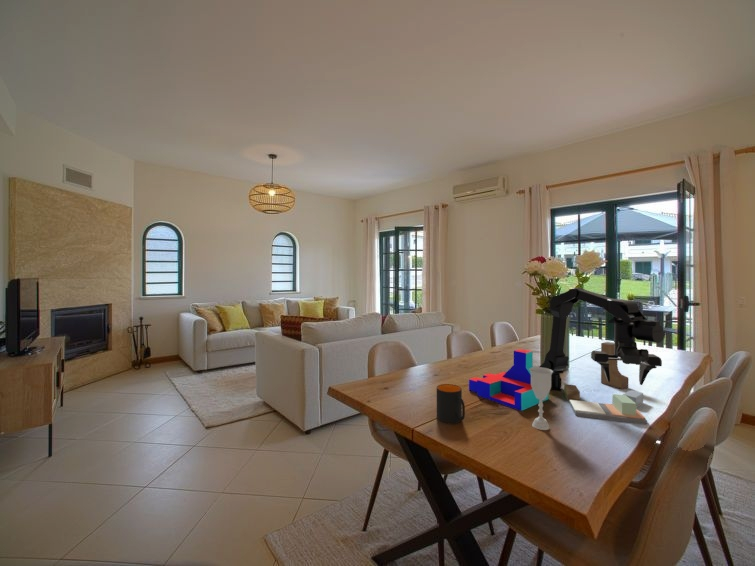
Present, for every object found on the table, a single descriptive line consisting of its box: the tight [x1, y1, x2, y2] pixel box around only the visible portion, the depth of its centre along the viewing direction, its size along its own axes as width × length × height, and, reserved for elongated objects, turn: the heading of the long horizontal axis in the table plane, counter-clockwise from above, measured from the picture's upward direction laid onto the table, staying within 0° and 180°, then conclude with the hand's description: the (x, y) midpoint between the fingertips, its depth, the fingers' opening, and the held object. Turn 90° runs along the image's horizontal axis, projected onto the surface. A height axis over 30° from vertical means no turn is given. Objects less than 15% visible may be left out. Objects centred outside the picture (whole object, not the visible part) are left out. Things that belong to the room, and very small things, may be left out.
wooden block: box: [600, 341, 629, 390], centre depth 145 cm, size 9×4×18 cm, turn 23°
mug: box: [436, 383, 466, 425], centre depth 111 cm, size 8×12×10 cm
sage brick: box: [611, 393, 637, 416], centre depth 114 cm, size 4×8×4 cm, turn 164°
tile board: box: [568, 400, 648, 425], centre depth 116 cm, size 20×12×2 cm, turn 69°
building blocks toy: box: [468, 348, 550, 412], centre depth 134 cm, size 19×25×18 cm
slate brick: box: [622, 389, 644, 409], centre depth 124 cm, size 4×8×4 cm, turn 127°
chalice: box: [529, 366, 553, 431], centre depth 106 cm, size 7×7×18 cm
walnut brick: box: [563, 383, 581, 402], centre depth 131 cm, size 4×8×4 cm, turn 159°
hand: (624, 383), depth 114 cm, fingers open, 9 cm apart
